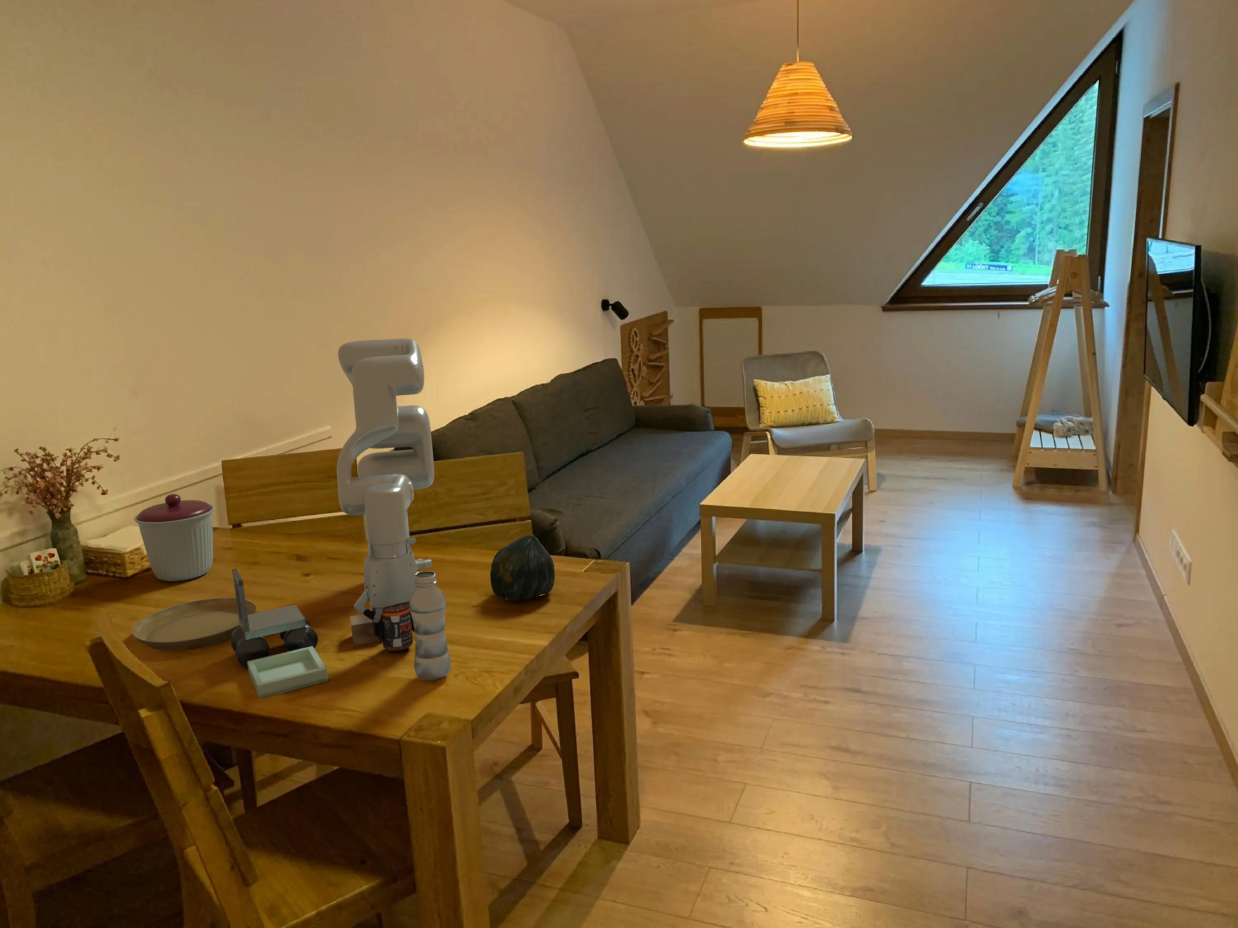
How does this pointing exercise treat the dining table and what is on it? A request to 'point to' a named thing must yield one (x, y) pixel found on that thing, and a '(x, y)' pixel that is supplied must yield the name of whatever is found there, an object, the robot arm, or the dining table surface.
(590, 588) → the dining table surface
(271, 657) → the tray
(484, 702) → the dining table surface
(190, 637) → the plant saucer
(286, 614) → the trolley
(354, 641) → the block
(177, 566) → the canister
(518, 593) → the squash
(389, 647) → the supplement bottle
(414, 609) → the plastic bottle
